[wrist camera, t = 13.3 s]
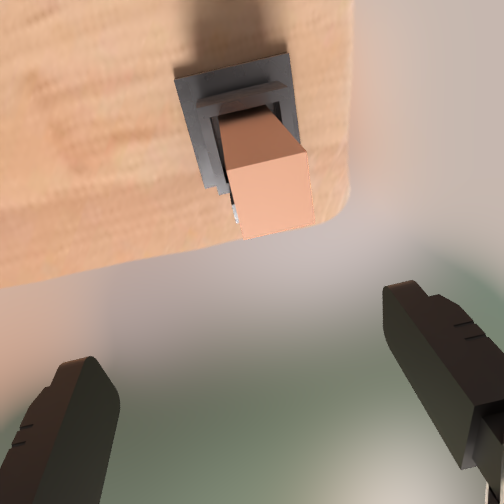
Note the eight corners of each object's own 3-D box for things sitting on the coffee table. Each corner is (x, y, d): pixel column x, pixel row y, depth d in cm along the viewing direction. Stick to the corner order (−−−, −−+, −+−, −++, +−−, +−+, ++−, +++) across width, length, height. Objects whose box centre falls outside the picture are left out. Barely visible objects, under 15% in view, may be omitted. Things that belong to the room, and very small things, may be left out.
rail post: (217, 115, 29) (226, 170, 17) (265, 104, 29) (306, 151, 17) (229, 162, 31) (243, 240, 19) (273, 152, 31) (315, 223, 19)
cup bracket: (174, 78, 31) (163, 94, 22) (286, 52, 31) (317, 58, 22) (205, 185, 36) (205, 230, 28) (300, 162, 36) (330, 201, 28)
